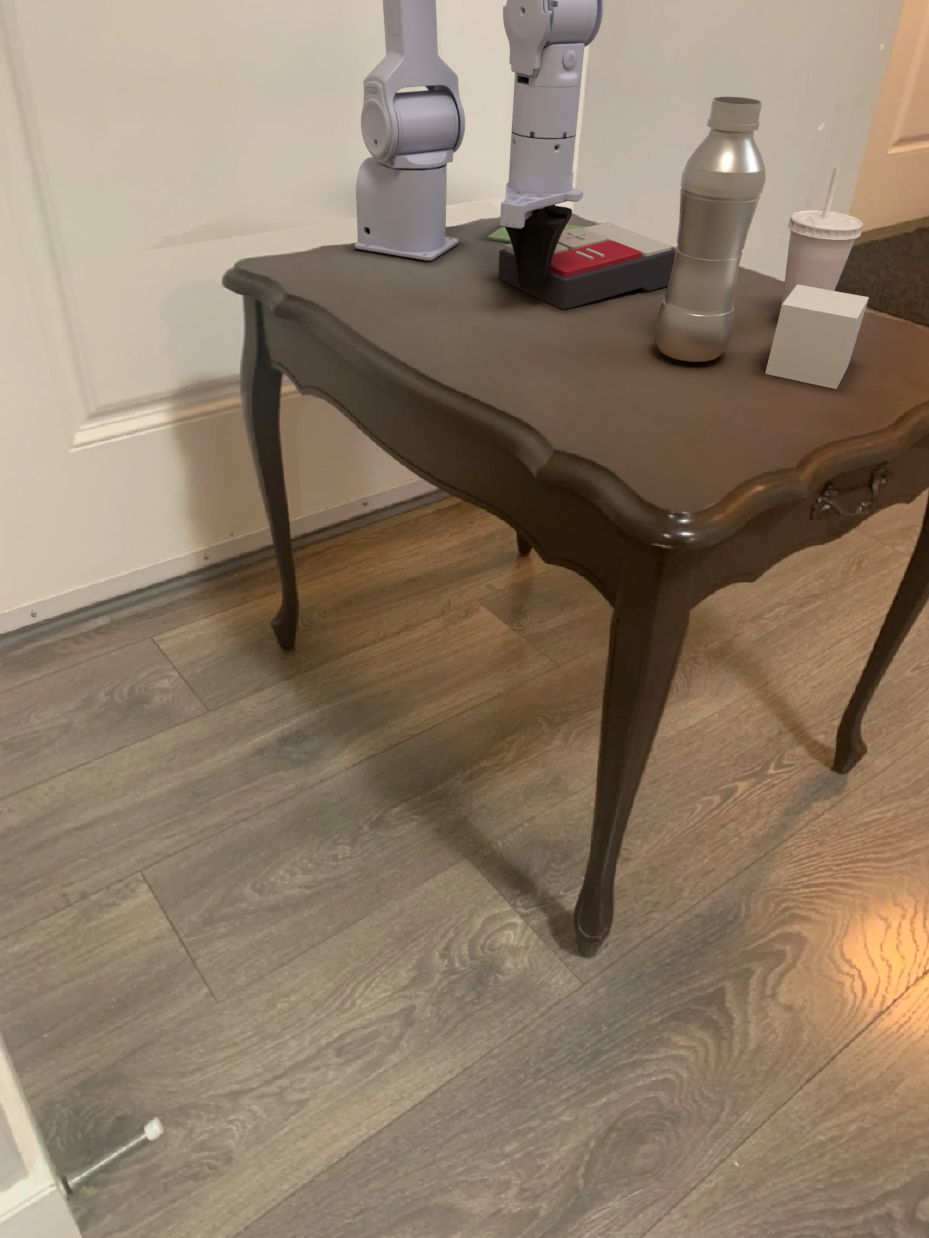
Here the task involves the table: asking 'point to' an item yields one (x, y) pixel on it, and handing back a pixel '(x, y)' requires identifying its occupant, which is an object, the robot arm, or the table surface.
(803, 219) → the smoothie
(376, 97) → the robot arm
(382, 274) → the table surface
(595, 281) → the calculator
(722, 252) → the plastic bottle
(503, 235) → the cloth
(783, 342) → the off-white cube
